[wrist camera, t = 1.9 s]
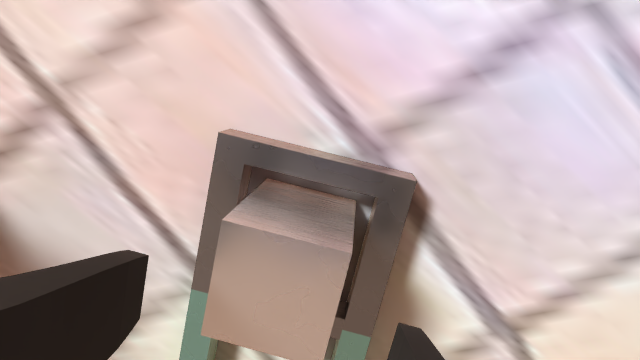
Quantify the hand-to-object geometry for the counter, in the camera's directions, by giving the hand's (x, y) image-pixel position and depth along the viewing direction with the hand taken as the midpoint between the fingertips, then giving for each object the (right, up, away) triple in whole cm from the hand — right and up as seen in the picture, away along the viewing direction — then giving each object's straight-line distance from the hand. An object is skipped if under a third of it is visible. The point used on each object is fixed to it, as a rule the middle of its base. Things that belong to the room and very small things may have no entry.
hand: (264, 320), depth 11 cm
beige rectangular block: (+1, +2, +7) cm, 7 cm away
